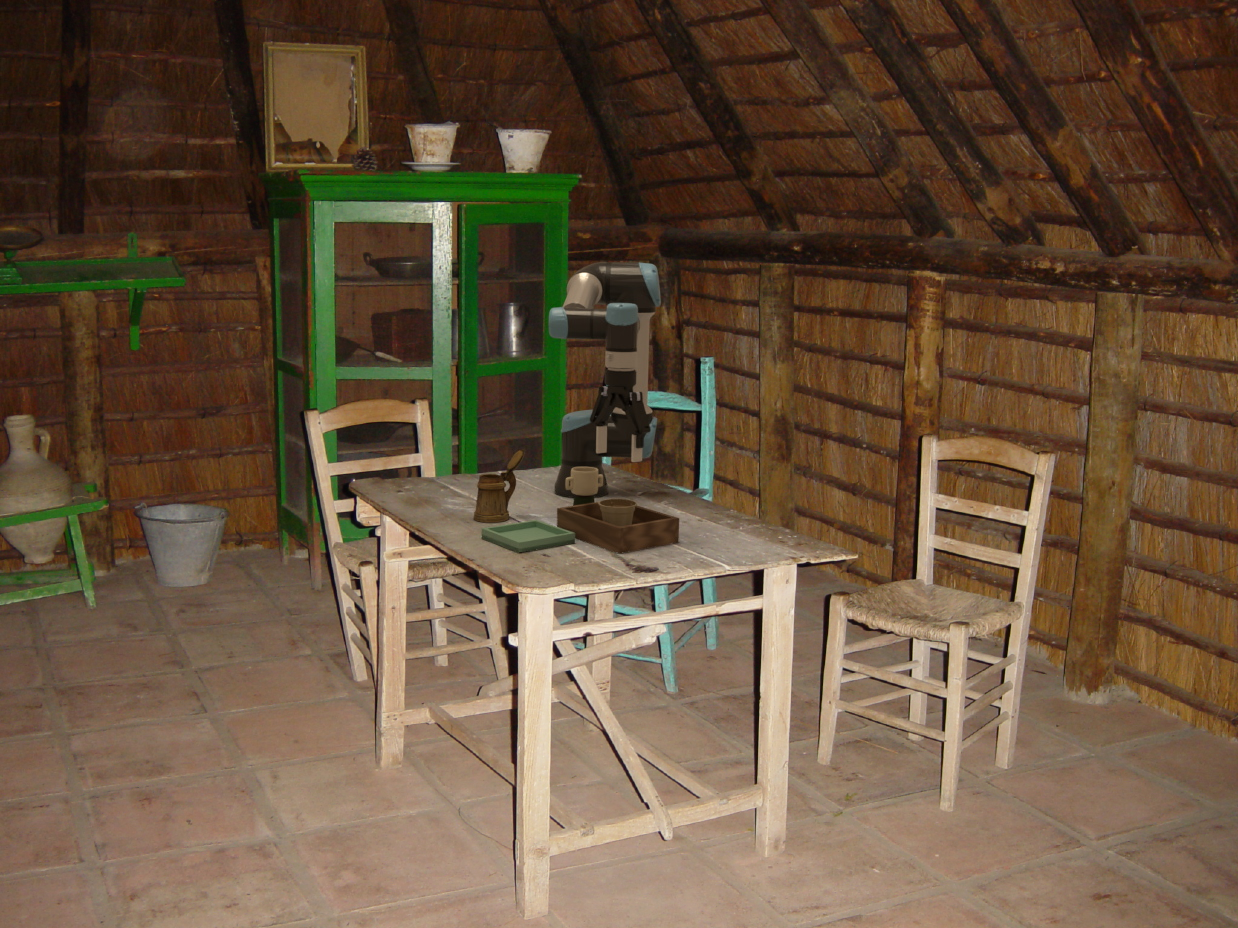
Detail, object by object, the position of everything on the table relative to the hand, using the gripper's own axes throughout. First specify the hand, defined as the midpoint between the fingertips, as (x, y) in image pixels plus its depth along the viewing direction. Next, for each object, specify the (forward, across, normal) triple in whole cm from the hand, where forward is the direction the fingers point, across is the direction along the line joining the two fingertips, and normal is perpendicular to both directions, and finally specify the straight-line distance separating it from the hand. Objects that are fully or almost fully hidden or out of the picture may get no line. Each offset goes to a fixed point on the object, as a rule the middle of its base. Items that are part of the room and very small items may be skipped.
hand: (618, 457), depth 291 cm
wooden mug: (+20, -32, -13) cm, 40 cm away
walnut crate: (+20, 0, 0) cm, 20 cm away
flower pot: (+20, 0, 0) cm, 20 cm away
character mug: (+20, -20, +5) cm, 29 cm away
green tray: (+20, -9, -20) cm, 30 cm away
